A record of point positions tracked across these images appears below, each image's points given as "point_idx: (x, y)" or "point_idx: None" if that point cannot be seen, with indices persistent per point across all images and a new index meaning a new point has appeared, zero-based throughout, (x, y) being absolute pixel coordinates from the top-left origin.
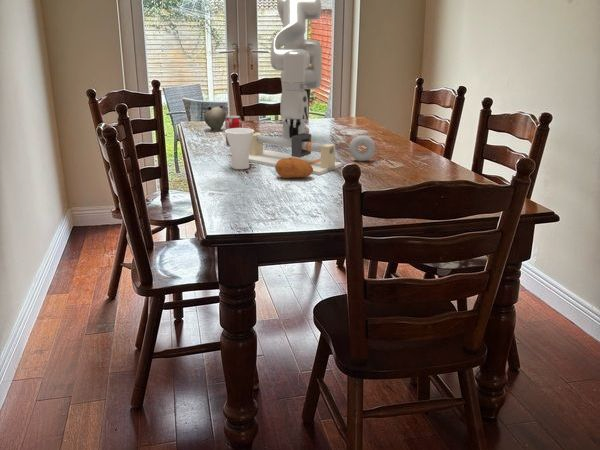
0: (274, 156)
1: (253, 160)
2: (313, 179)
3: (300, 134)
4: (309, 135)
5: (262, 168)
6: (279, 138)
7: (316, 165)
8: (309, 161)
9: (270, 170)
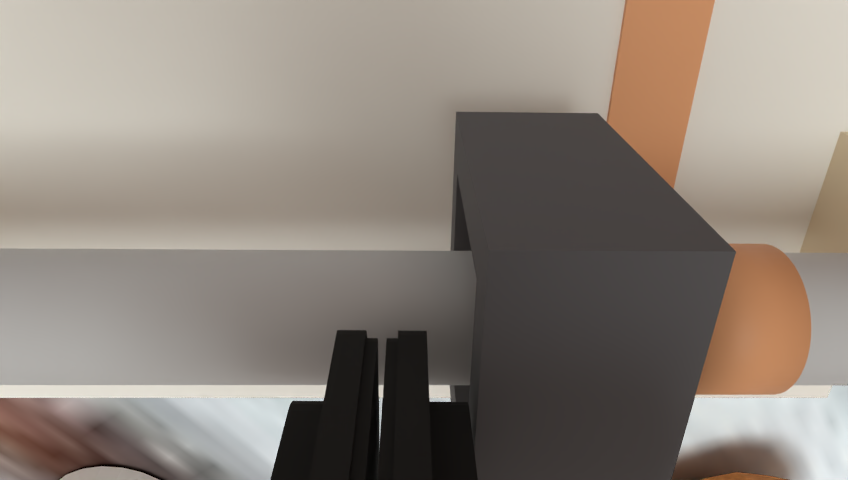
0: (78, 172)
1: (56, 392)
2: (800, 476)
3: (520, 395)
4: (710, 304)
5: None
6: (88, 376)
7: (726, 235)
8: None
9: None
